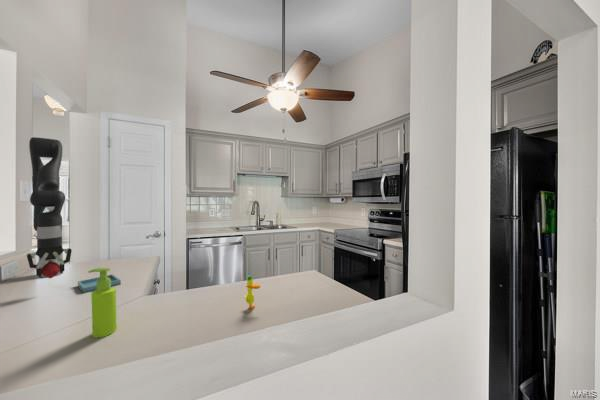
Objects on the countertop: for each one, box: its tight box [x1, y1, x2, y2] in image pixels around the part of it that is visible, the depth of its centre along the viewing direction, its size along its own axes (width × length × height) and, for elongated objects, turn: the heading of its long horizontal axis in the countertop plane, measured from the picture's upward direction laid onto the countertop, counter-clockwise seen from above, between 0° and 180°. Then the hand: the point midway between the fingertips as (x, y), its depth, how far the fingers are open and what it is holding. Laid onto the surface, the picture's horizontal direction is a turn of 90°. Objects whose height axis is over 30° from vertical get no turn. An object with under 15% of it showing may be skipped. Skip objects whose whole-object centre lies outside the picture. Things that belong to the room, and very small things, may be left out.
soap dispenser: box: [87, 267, 118, 339], centre depth 76 cm, size 6×7×20 cm
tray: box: [77, 273, 122, 294], centre depth 117 cm, size 14×14×2 cm
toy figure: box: [243, 275, 261, 310], centre depth 92 cm, size 7×4×12 cm, turn 77°
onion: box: [41, 260, 60, 279], centre depth 107 cm, size 6×6×8 cm
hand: (50, 274), depth 107 cm, fingers closed on onion, 6 cm apart
